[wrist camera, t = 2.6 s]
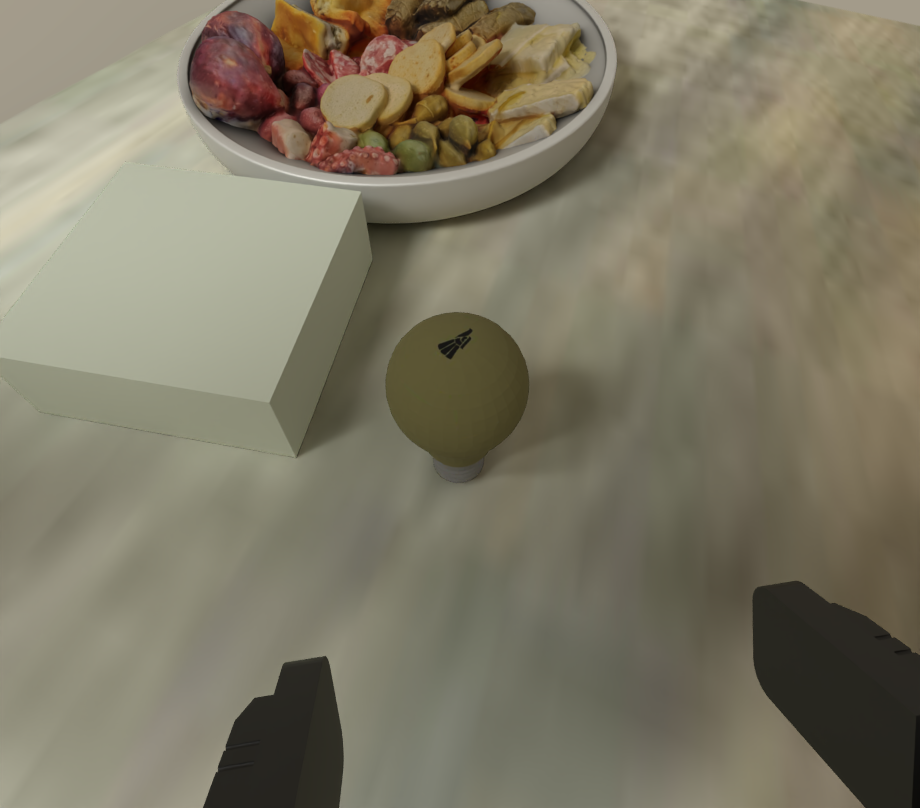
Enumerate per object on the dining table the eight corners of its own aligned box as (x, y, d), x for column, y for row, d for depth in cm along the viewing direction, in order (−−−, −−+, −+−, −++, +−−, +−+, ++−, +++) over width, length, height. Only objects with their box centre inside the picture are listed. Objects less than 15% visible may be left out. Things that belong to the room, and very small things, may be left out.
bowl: (479, -16, 58) (481, -121, 51) (688, 159, 44) (728, 44, 37) (159, 70, 50) (112, -41, 44) (284, 316, 36) (243, 207, 29)
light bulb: (488, 540, 28) (499, 429, 20) (381, 494, 29) (347, 370, 21) (533, 442, 31) (558, 308, 22) (432, 404, 32) (421, 263, 24)
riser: (39, 412, 32) (-25, 353, 28) (161, 230, 39) (125, 161, 35) (296, 457, 30) (269, 402, 26) (372, 259, 38) (360, 191, 34)
